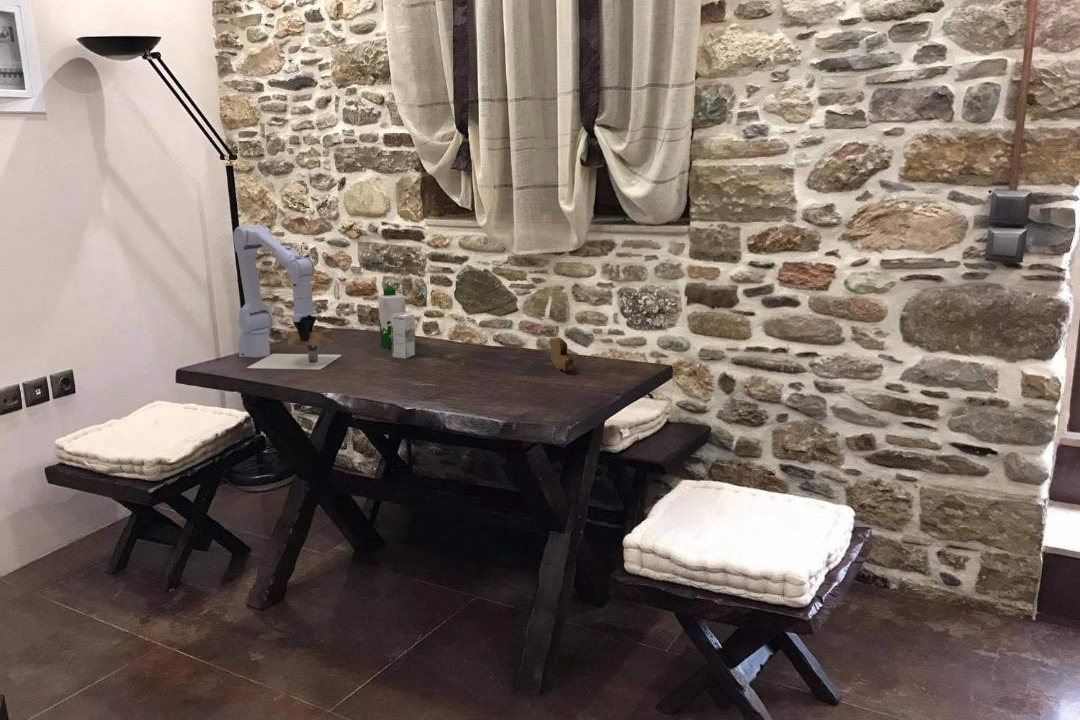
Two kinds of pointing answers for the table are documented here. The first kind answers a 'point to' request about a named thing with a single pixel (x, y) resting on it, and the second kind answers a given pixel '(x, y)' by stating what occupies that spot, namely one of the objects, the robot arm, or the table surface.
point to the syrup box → (403, 335)
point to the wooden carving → (560, 354)
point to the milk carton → (389, 313)
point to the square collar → (312, 338)
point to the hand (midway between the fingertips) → (306, 340)
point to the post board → (296, 360)
